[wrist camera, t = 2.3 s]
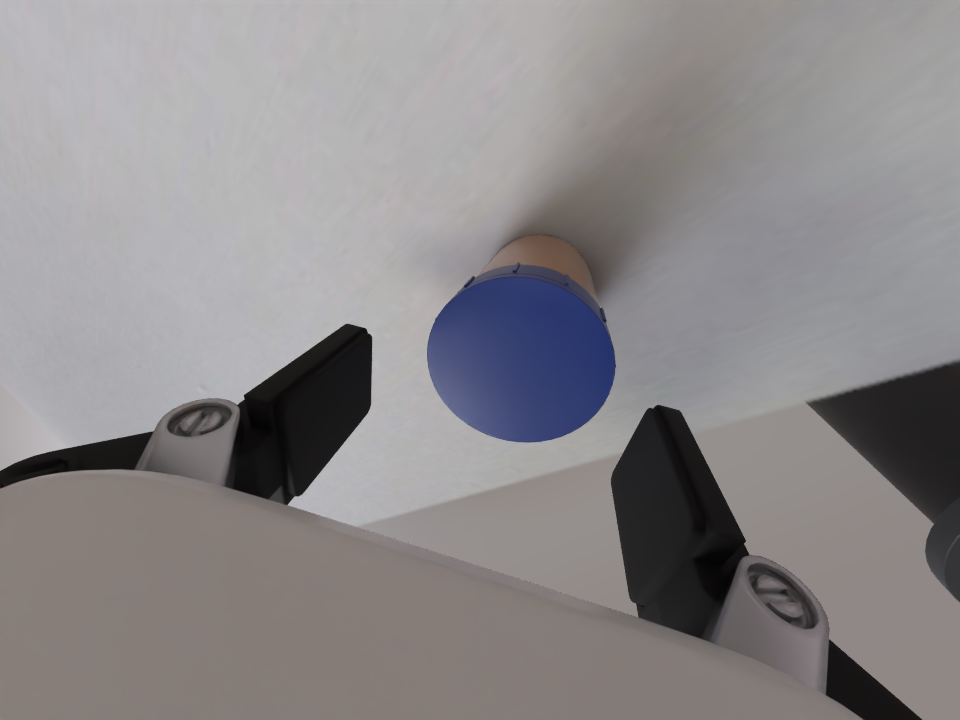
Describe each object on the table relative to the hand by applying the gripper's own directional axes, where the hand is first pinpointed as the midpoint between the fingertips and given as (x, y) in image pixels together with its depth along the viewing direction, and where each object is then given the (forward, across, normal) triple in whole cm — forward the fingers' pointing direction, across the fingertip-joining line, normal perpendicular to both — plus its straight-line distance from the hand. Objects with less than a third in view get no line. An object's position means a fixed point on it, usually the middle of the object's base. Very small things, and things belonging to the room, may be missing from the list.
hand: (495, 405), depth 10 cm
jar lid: (+3, 0, 0) cm, 3 cm away
